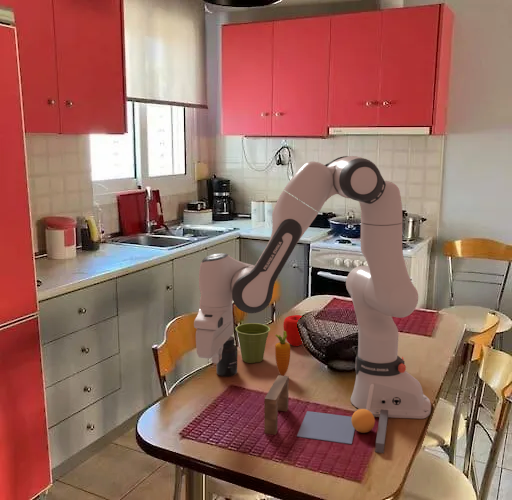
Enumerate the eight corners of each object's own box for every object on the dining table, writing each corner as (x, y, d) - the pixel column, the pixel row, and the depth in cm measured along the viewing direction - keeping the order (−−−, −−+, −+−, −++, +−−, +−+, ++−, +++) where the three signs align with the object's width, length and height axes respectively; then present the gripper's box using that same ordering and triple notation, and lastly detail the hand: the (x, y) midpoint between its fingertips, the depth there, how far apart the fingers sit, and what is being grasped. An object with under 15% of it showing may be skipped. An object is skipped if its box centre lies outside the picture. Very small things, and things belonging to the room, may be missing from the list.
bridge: (288, 408, 165) (288, 376, 163) (275, 434, 150) (275, 400, 148) (278, 407, 165) (278, 375, 163) (264, 433, 151) (264, 398, 149)
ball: (352, 424, 156) (375, 426, 154) (350, 435, 150) (373, 438, 148) (352, 403, 154) (375, 405, 153) (350, 414, 149) (374, 416, 147)
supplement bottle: (234, 378, 185) (234, 342, 182) (214, 376, 186) (213, 341, 183) (239, 369, 191) (239, 335, 189) (219, 367, 192) (219, 333, 190)
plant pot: (270, 366, 193) (270, 334, 191) (234, 366, 194) (234, 334, 191) (270, 353, 205) (270, 322, 203) (236, 352, 205) (236, 322, 203)
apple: (291, 338, 219) (291, 310, 217) (311, 343, 214) (312, 315, 212) (278, 345, 212) (278, 317, 210) (299, 350, 207) (299, 321, 205)
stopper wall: (387, 418, 159) (388, 410, 158) (383, 453, 142) (384, 443, 141) (380, 417, 159) (380, 409, 159) (375, 452, 142) (375, 442, 142)
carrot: (279, 381, 182) (279, 335, 179) (271, 375, 187) (272, 330, 184) (293, 377, 185) (293, 333, 181) (285, 372, 189) (285, 328, 186)
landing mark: (357, 418, 159) (357, 417, 159) (351, 444, 146) (351, 443, 146) (307, 411, 163) (307, 410, 163) (296, 436, 149) (296, 435, 149)
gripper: (217, 301, 167) (218, 346, 170) (191, 324, 148) (192, 374, 151) (238, 303, 165) (239, 349, 168) (214, 326, 146) (215, 377, 149)
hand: (216, 361), depth 159 cm, fingers closed
